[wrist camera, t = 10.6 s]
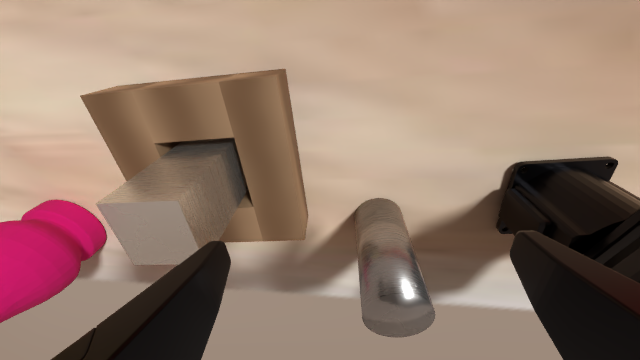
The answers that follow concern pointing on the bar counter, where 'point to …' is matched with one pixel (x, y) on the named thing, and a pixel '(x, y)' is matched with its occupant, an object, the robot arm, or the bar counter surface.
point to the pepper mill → (44, 253)
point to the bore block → (212, 123)
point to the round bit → (389, 272)
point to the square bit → (177, 202)
